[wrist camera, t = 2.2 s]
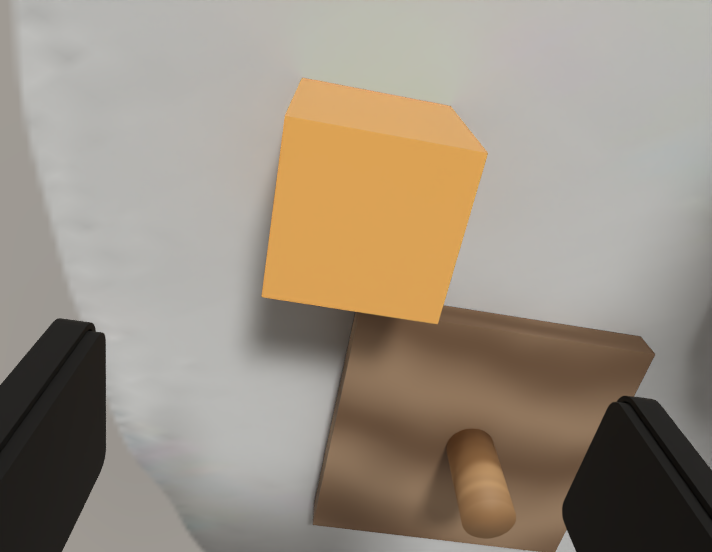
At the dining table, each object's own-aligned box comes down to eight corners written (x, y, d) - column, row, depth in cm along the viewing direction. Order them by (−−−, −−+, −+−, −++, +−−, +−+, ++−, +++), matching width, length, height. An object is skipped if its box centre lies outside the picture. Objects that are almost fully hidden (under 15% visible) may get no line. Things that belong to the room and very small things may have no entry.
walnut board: (359, 292, 27) (362, 369, 22) (640, 336, 29) (708, 419, 23) (314, 502, 33) (307, 602, 28) (546, 531, 35) (582, 631, 29)
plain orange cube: (302, 77, 23) (284, 115, 17) (450, 106, 23) (487, 153, 17) (282, 218, 25) (261, 297, 19) (416, 241, 26) (437, 324, 20)
